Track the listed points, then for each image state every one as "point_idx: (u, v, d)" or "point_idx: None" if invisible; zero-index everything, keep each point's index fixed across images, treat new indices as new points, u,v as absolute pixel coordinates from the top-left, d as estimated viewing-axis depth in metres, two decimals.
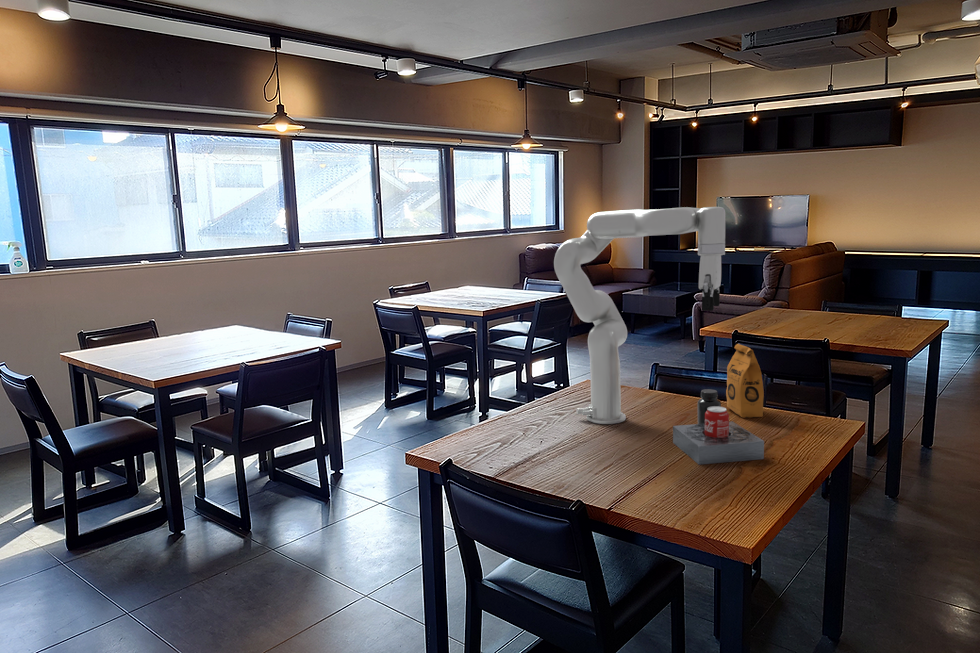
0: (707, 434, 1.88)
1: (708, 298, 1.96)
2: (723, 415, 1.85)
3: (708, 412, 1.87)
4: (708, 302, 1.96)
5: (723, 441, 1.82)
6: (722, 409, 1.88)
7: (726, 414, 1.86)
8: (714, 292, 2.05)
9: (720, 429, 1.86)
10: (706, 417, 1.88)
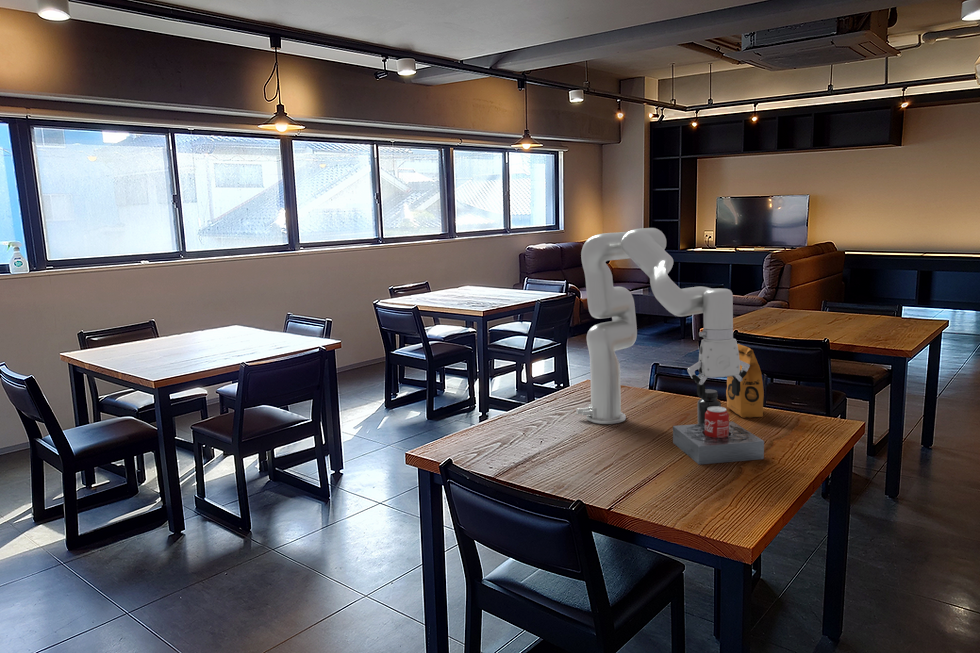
0: (707, 434, 1.88)
1: None
2: (723, 415, 1.85)
3: (708, 412, 1.87)
4: None
5: (723, 441, 1.82)
6: (722, 409, 1.88)
7: (726, 414, 1.86)
8: None
9: (720, 429, 1.86)
10: (706, 417, 1.88)
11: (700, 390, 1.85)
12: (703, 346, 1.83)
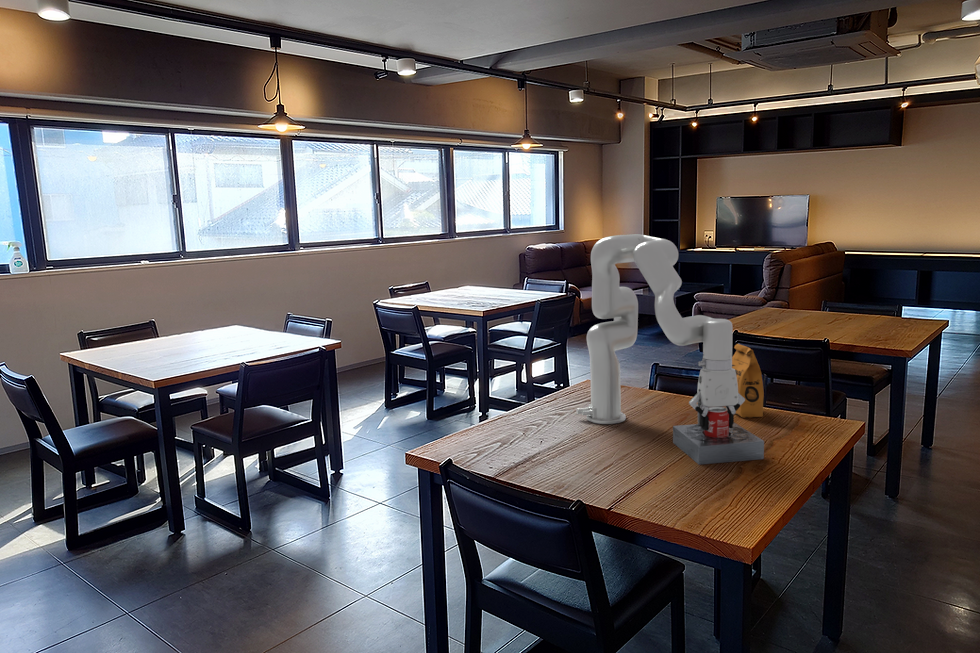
0: (707, 434, 1.88)
1: None
2: (723, 415, 1.85)
3: (708, 412, 1.87)
4: None
5: (723, 441, 1.82)
6: (722, 409, 1.88)
7: (726, 414, 1.86)
8: None
9: (720, 429, 1.86)
10: None
11: (703, 421, 1.87)
12: (702, 376, 1.85)
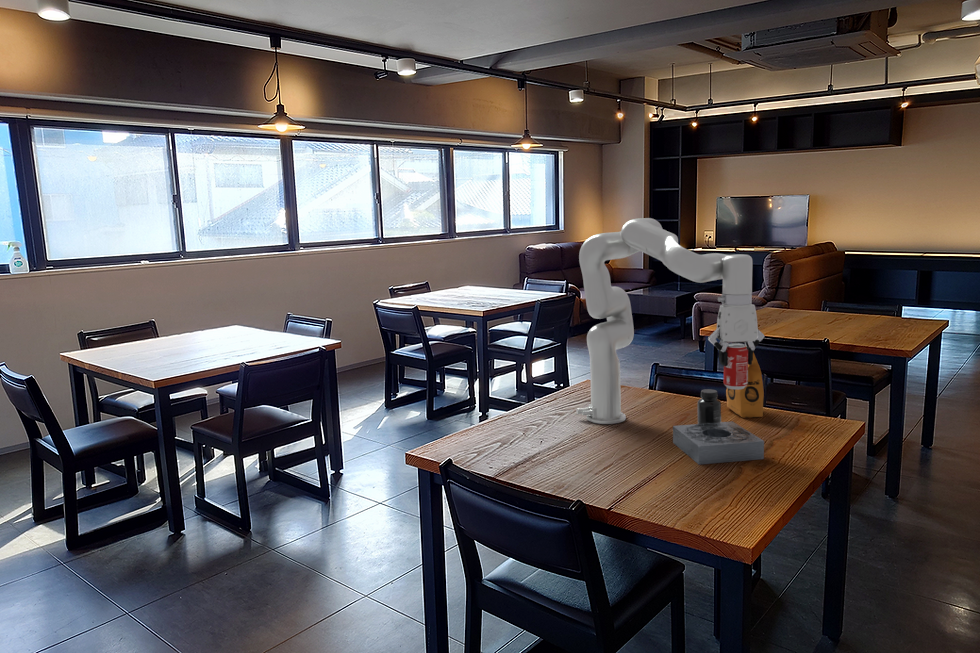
0: (726, 370, 1.88)
1: None
2: (743, 350, 1.86)
3: (727, 348, 1.88)
4: None
5: (723, 441, 1.82)
6: (741, 345, 1.88)
7: (745, 350, 1.86)
8: None
9: (739, 365, 1.86)
10: None
11: (722, 357, 1.88)
12: (721, 311, 1.85)
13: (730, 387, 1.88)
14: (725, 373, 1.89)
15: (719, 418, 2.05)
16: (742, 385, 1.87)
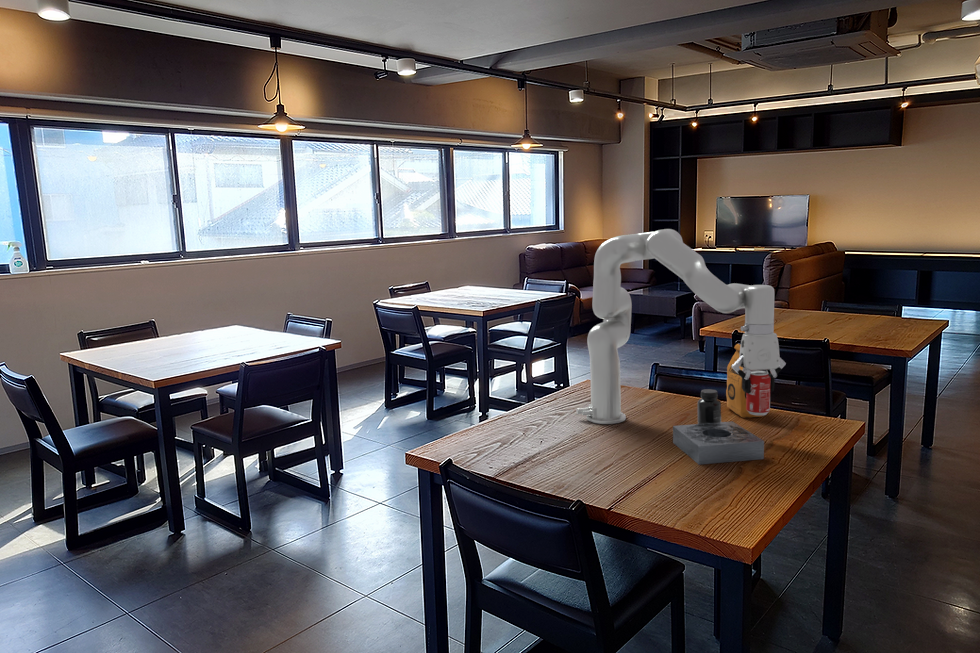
0: (749, 397, 1.94)
1: None
2: (765, 378, 1.91)
3: (750, 375, 1.93)
4: None
5: (723, 441, 1.82)
6: (764, 373, 1.94)
7: (768, 377, 1.92)
8: None
9: (762, 392, 1.92)
10: None
11: (745, 385, 1.93)
12: (745, 340, 1.91)
13: (753, 413, 1.94)
14: (748, 400, 1.94)
15: (719, 418, 2.05)
16: (765, 411, 1.93)
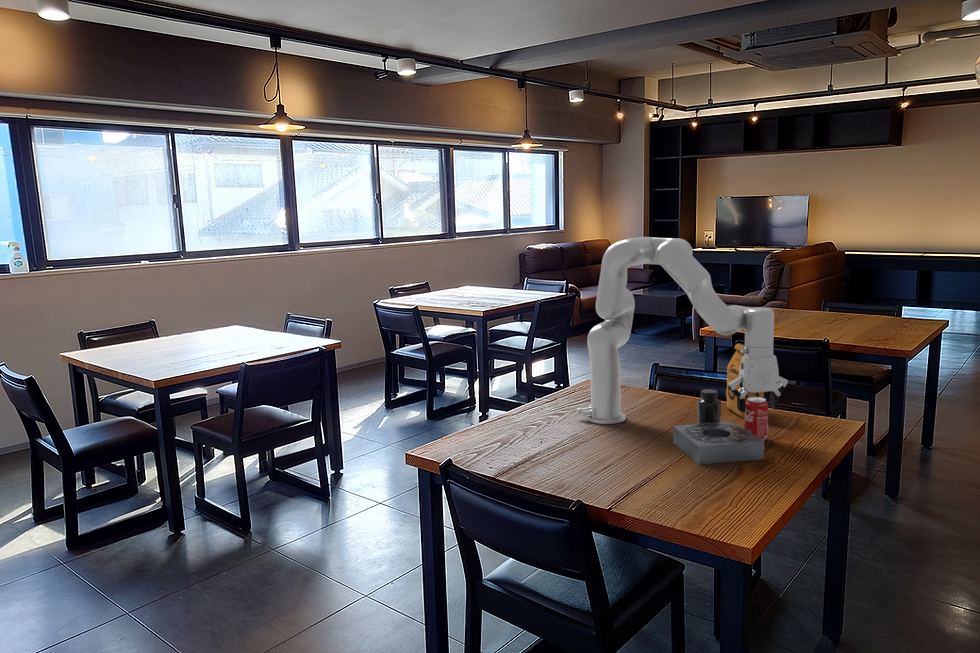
0: (747, 423, 1.95)
1: None
2: (763, 405, 1.93)
3: (748, 402, 1.95)
4: None
5: (723, 441, 1.82)
6: (762, 399, 1.95)
7: (766, 404, 1.94)
8: None
9: (760, 419, 1.93)
10: (746, 407, 1.95)
11: (740, 404, 1.94)
12: (744, 362, 1.92)
13: None
14: (746, 426, 1.96)
15: (719, 418, 2.05)
16: (762, 438, 1.94)
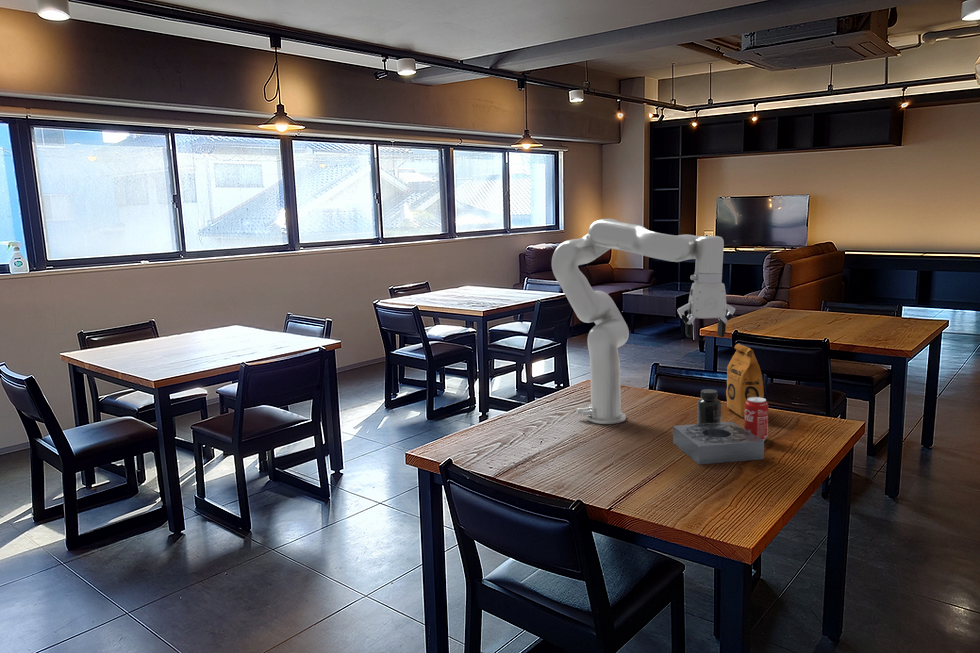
0: (747, 423, 1.95)
1: None
2: (763, 405, 1.93)
3: (748, 402, 1.95)
4: None
5: (723, 441, 1.82)
6: (762, 399, 1.95)
7: (766, 404, 1.94)
8: None
9: (760, 419, 1.93)
10: (746, 407, 1.95)
11: (688, 329, 2.00)
12: (693, 288, 1.98)
13: None
14: (746, 426, 1.96)
15: (719, 418, 2.05)
16: (762, 438, 1.94)
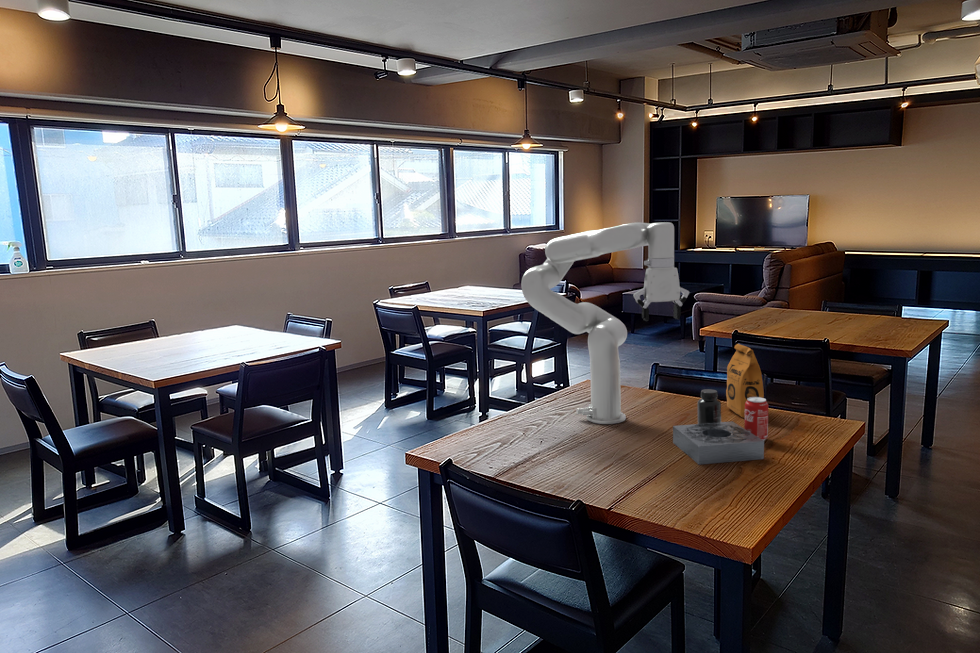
0: (747, 423, 1.95)
1: None
2: (763, 405, 1.93)
3: (748, 402, 1.95)
4: None
5: (723, 441, 1.82)
6: (762, 399, 1.95)
7: (766, 404, 1.94)
8: None
9: (760, 419, 1.93)
10: (746, 407, 1.95)
11: (644, 313, 2.07)
12: (647, 273, 2.05)
13: None
14: (746, 426, 1.96)
15: (719, 418, 2.05)
16: (762, 438, 1.94)
